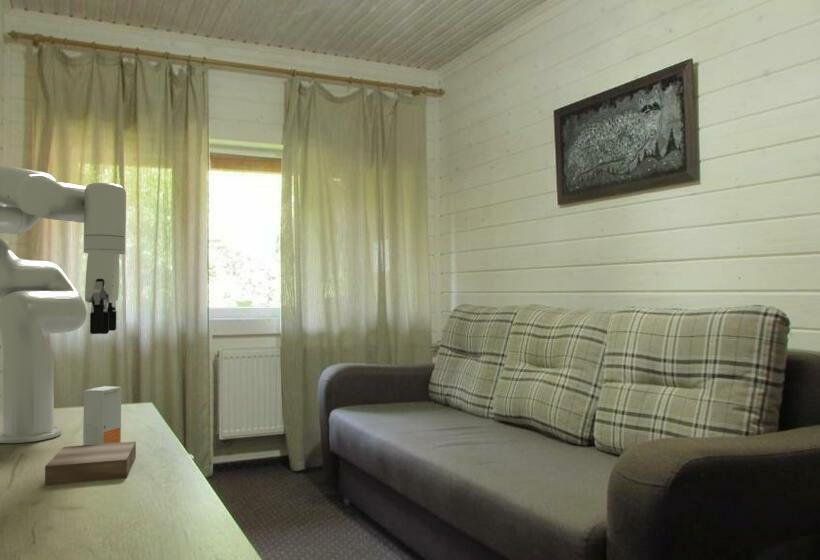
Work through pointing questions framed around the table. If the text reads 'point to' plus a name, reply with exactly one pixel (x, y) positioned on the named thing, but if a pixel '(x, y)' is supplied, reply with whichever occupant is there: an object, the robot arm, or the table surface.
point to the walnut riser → (91, 463)
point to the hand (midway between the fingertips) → (103, 332)
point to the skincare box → (102, 415)
